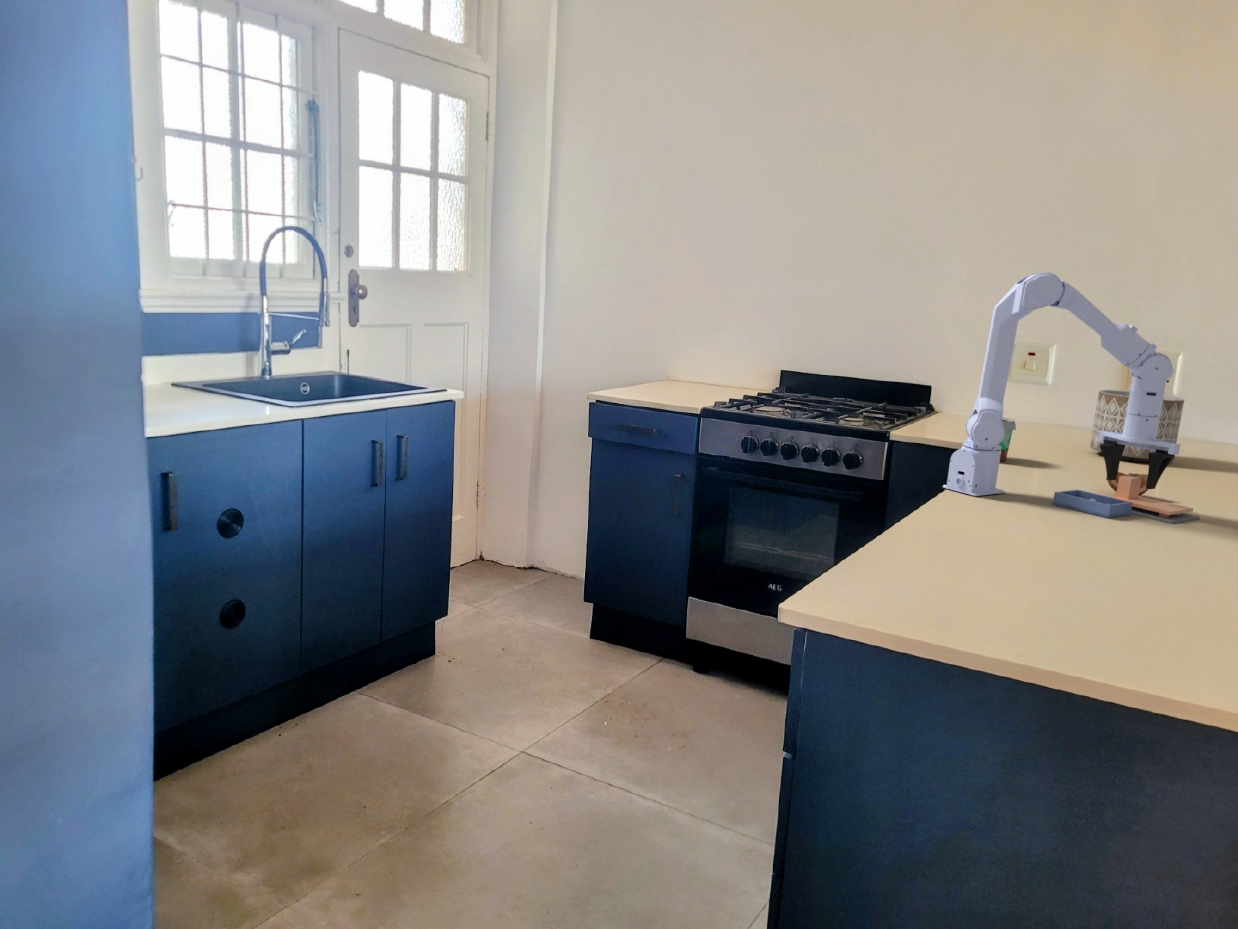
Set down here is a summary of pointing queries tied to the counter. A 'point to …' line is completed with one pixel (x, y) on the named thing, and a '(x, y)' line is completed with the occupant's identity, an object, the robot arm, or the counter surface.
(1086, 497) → the blue box
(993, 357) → the robot arm
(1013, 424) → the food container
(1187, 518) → the mat
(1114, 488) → the fruit slice
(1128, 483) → the lid
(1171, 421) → the planter
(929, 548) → the counter surface
